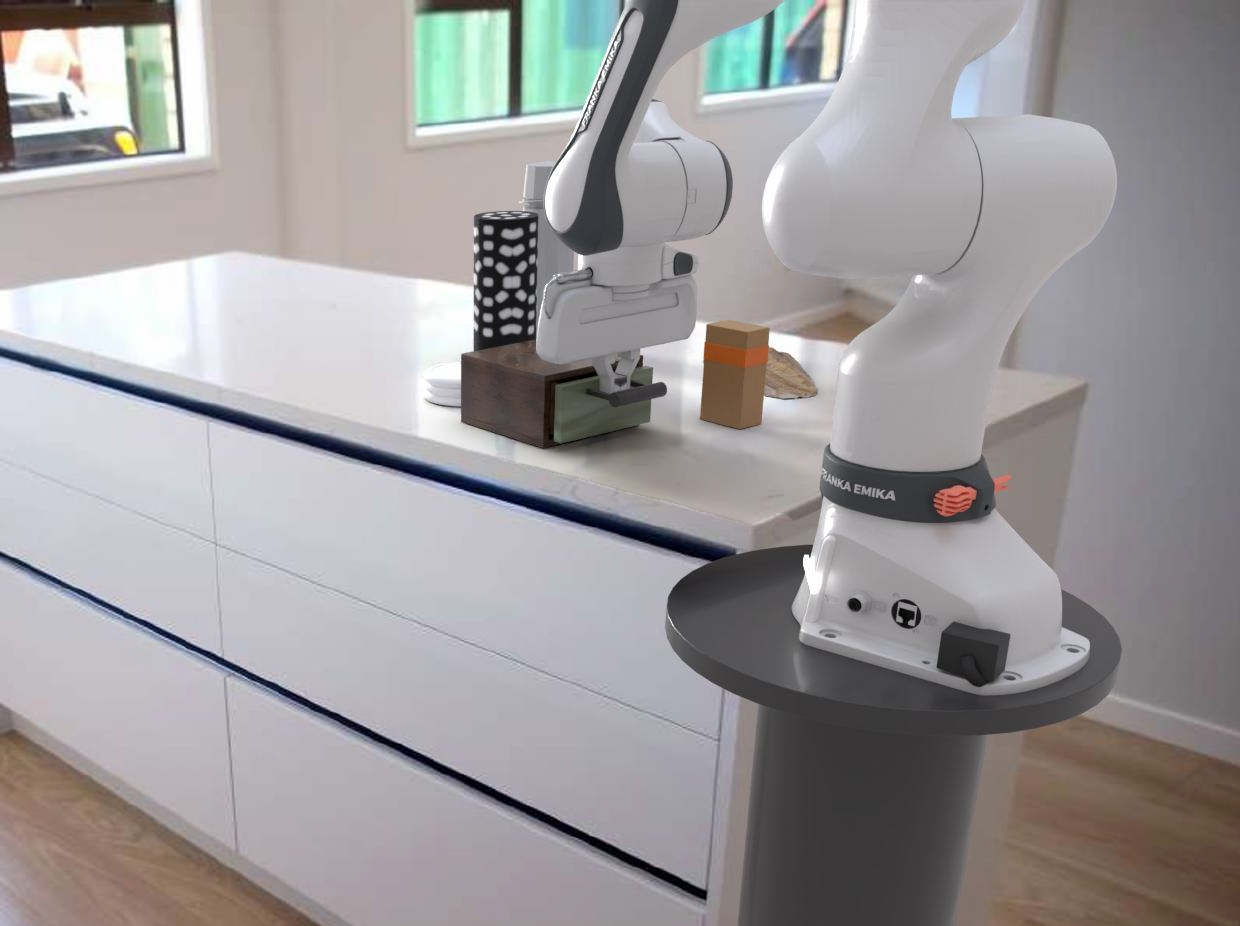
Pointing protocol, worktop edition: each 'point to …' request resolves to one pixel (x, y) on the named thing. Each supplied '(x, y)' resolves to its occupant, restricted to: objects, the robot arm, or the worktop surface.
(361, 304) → the worktop surface
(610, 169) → the robot arm
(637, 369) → the drawer
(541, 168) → the water bottle
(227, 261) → the worktop surface
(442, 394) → the white round shallow piece
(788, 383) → the fish fossil
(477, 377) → the cabinet
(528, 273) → the white-spotted black cylinder
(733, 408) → the block
